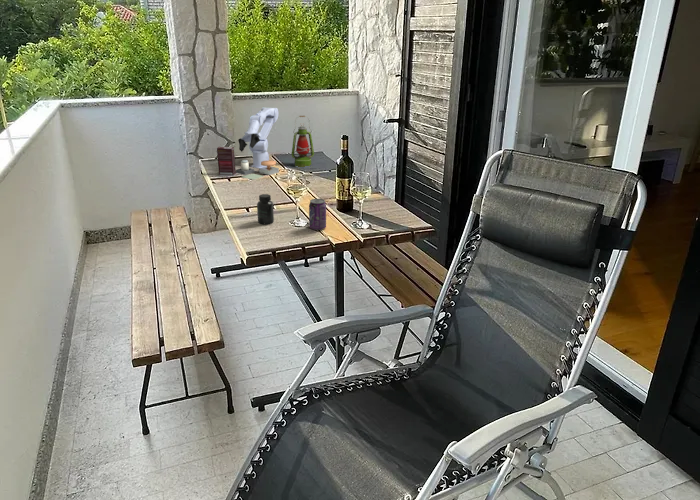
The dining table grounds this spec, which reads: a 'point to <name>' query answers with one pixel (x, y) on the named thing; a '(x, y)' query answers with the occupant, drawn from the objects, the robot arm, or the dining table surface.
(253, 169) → the dock
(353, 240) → the dining table surface
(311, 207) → the beverage can
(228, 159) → the supplement box
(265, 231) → the dining table surface
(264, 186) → the dining table surface
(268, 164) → the tan rounded dome
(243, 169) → the cylinder
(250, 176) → the mat
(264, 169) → the button housing
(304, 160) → the lantern
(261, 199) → the supplement bottle
